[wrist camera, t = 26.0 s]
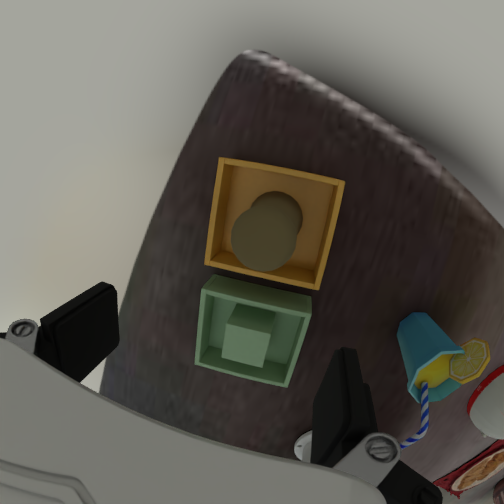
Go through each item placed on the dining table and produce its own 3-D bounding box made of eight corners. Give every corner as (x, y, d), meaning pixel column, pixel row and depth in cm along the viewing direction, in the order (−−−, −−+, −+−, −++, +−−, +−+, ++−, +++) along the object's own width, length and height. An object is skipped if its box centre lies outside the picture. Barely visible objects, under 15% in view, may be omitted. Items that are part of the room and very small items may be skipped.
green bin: (311, 296, 34) (311, 314, 29) (290, 366, 37) (287, 387, 33) (213, 273, 35) (201, 288, 31) (205, 345, 39) (194, 364, 34)
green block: (276, 312, 35) (271, 334, 30) (268, 344, 36) (262, 368, 31) (236, 303, 35) (226, 323, 30) (231, 335, 37) (220, 357, 32)
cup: (400, 378, 35) (424, 456, 21) (360, 363, 35) (375, 449, 21) (457, 301, 30) (513, 366, 16) (418, 278, 31) (474, 346, 16)
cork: (255, 184, 31) (230, 193, 20) (309, 199, 30) (312, 216, 20) (242, 236, 33) (213, 269, 22) (293, 251, 32) (287, 292, 22)
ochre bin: (339, 179, 29) (345, 181, 25) (317, 274, 33) (318, 290, 29) (230, 158, 31) (219, 157, 27) (216, 252, 34) (203, 264, 30)
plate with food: (522, 446, 36) (525, 453, 32) (456, 493, 44) (458, 501, 40) (512, 425, 35) (517, 433, 31) (432, 482, 42) (434, 492, 39)
